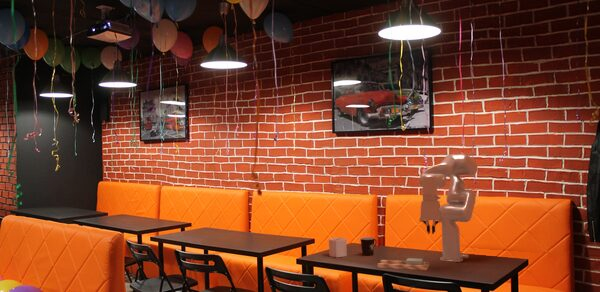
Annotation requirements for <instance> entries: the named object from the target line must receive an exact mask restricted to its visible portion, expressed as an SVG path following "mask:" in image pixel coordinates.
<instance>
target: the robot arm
mask: <svg viewBox="0 0 600 292" xmlns="http://www.w3.org/2000/svg"><path fill="white" fill-rule="evenodd" d="M477 172H478V165H477V163H476V160H474V159H473V158H472V157H471V156H469V155H468V154H465V153H452V154H448V155H446V156H445V157H444V158H443V159H442V161H441V162H440V163H438V164H436V165H433V166H431V167H427V168H426V169H425V170H424V171H423V172H422V173H421V175H420V177H419V180H418V181H419V185H420V186H421V188H422V200H421V201H420V203H421V204H420V217H419V222H420V223H422V224H424V225H425V226H426V232H427V234H432V235H434V234H435V233H436V226H437V224H439V223H441V238H442V239H441V240H442V241H441V242H442V243H441V244H442V256H440V257H439V260H440V261H444V262H456V263H462V262H463V261H464V258H465V259H468V258H469V254H467V253H462V252H461V248H460V246H461V245H460V244H461V241H460V240H461V239H460V238H461V237H460V228H459V226H458V224H457V222H460V223H468V222H470V221H471V220H472V216H473V214H474V213H473V212H474V209H475V203H476V192H475V191H473V190H472V189H467V188H466V183H465V181H464V180H463V178H462V177H461V176H475V175H476V174H477ZM448 178H449V182H450V184H449V188H448V191H447V194H446V203H447V204H443V205H441V204H440V200H439V199H441V196H440V195H439V194H438V189H441V188H444V187H445V186H446V185H447V183H448ZM429 221H432V225H430V222H429Z"/></svg>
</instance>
